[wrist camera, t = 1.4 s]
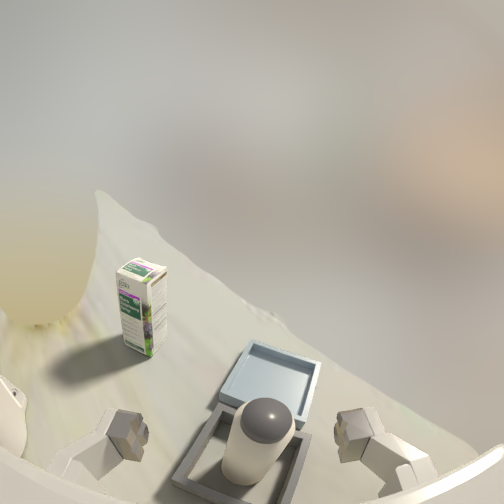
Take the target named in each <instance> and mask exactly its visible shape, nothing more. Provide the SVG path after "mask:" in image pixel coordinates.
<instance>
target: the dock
mask: <svg viewBox="0 0 504 504" xmlns="http://www.w3.org/2000/svg"><path fill="white" fill-rule="evenodd" d="M236 411H237V410H236V409H234V408H231V407H229V406H227V405H224V404H222V403H218V404H217V406H216V408H215V410H214V411H213V413H212V414H211V416H210V418H209V419H208V421H207V423H206V424H205V426H204V428H203V429H202V431H201V433H200V434H199V436H198V437H197V439H196V441H195V442H194V444H193V445H192V447H191V449H190V450H189V452H188V453H187V455H186V456H185V458H184V460H183V461H182V463H181V464H180V466H179V467H178V469H177V470H176V472H175V473H174V475H173V476H172V478H171V480H172V483H173V485H175V486H177V487H179V488H181V489H183V490H185V491H187V492H189V493H191V494H194V495H196V496H198V497H200V498H203V499H205V500H207V501H210V502H212V503H215V504H251V503H248V502H245V501H242V500H239V499H236V498H233V497H231V496H228V495H225V494H223V493H220V492H218V491H215V490H213V489H210V488H208V487H205V486H203V485H201V484H199V483H196V482H194V481H192V480H190V479H188V478H187V477H188V475H189V474H190V472H191V471H192V469H193V467H194V466H195V464H196V462H197V461H198V459H199V457H200V456H201V454H202V452H203V451H204V449H205V447H206V446H207V444H208V442H209V440H210V439H211V437H212V435H213V434H214V432H215V430H216V428H217V427H218V425H219V423H220V421H222V422H225V423H227V424H230V425H232V423H233V419H234V415H235V413H236ZM311 437H312V435H311V434H308V433H304V432H301V431H297V430H295V433H294V435H293V437H292V439H291V440H290V442H289V443H288V444H287V445H290V446H293V447H296V450H295V453H294V456H293V459H292V462H291V465H290V468H289V471H288V474H287V476H286V479H285V482H284V485H283V487H282V490H281V492H280V495H279V498H278V500H277V503H276V504H290V502H291V500H292V497H293V494H294V491H295V488H296V485H297V482H298V480H299V476H300V473H301V470H302V467H303V464H304V461H305V457H306V454H307V451H308V447H309V444H310V440H311Z"/></svg>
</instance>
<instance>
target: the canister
mask: <svg viewBox="0 0 504 504" xmlns="http://www.w3.org/2000/svg"><path fill="white" fill-rule="evenodd" d="M294 433H295V421H294V418H293V416H292V414H291V412H290V410H289V409H288V407H287V406H286V405H285V404H283V403H282V402H280V401H278V400H276V399H273V398H257V399H254V400H252V401H249V402H246V403H245V404H243V405H242V406H240V407H239V409H238V410H237V411H236V413H235V415H234V419H233V423H232V426H231V430H230V434H229V438H228V441H227V445H226V449H225V453H224V456H223V460H222V464H221V469H222V472H223V474H224V476H225V477H226V478H227V479H228V480H229V481H231V482H232V483H234V484H237V485H242V486H248V485H253V484H255V483H257V482H259V481H260V480H261V479H262V478H263V477H264V476H265V474H266V473H267V472H268V470H269V469H270V468H271V466H272V465H273V464H274V462H275V461H276V460H277V458H278V457H279V456H280V454H281V453H282V451H283V450H284V449H285V447H286V446H287V444H288V443H289V442H290V440H291V439H292V437H293V435H294Z"/></svg>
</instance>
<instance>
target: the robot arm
mask: <svg viewBox="0 0 504 504" xmlns="http://www.w3.org/2000/svg"><path fill="white" fill-rule="evenodd" d="M15 394H16V396H14V395H15ZM26 406H27V397H26V396H25V395H24V393H23V392H22V391H20V390H19V389H18V388H16V387H15V386H14V385H13V384H11V383H10V382H9V381H8V380H7V379H5V378H4V377H3V376H2V375H1V374H0V504H138V503H134V502H130V501H126V500H122V499H119V498H115V497H112V496H109V495H105V491H106V490H105V488H104V487H103V486H102V485H101V484H100V483H99V482H98V481H99V480H100V479H101V478H102V477H104V476H105V475H106V474H107V473H108V472H110V471H111V470H112V469H113V468H114V467H116V466H117V465H118V464H119V463H120V462H121V461H123V459H126V460H132V461H137V462H141V459H142V456H143V453H144V450H143V447H142V446H144V445H145V444H147V441H148V435H149V432H148V428H147V425H146V424H145V423H143V422H142V420H143V417H142V415H141V413H135V412H130V411H125V410H120V409H115V408H110V407H109V408H108V409H107V410H106V412H105V413H104V415H103V417H102V419H101V421H100V423H99V425H98V427H97V429H96V431H95V432H91V433H89V434H87V435H86V436H84V437H82V438H80V439H79V440H77V441H75V442H73V443H72V444H70V445H68V446H66V447H65V448H63V449H61V450H59V451H57V452H56V453H55V455H54V457H53V459H52V461H51V462H50V464H49V466H48V468H47V470H46V471H45V470H43V469H41V468H39V467H37V466H35V465H33V464H31V463H29V462H28V461H26V460H24V459H22V458H20V457H21V455H22V453H23V451H24V448H25V444H26V437H27V429H26V422H25V410H26ZM337 421H338V422H337V423H336V424H335V426H334V439H335V443H336V444H337V445H338V446H339V449H338V455H339V458H340V462H341V463H346V462H352V461H357V460H360V461H361V462H362V463H363V464H364V465H365V466H367V467H368V468H369V469H370V470H371V471H373V472H374V473H375V474H376V475H377V476H378V477H380V478H381V479H382V480H383V481H385V482H386V484H385V485H384V486H383V488H382V489H381V490H380V492H379V493H378V496H379V498H378V499H374V500H371V501H367V502H363V503H359V504H504V444H499V445H497V446H495V447H493V448H492V449H490V450H489V451H487V452H485V453H484V454H482V455H480V456H478V457H477V458H475V459H473V460H471V461H469V462H467V463H466V464H464V465H462V466H460V467H458V468H456V469H454V470H452V471H450V472H448V473H445V474H443V475H441V476H438V474H437V471H436V469H435V467H434V465H433V463H432V461H431V459H430V457H429V455H427V454H426V453H424V452H422V451H420V450H419V449H417V448H415V447H413V446H412V445H410V444H408V443H406V442H405V441H403V440H401V439H400V438H398V437H396V436H395V435H393V434H391V433H390V432H388V433H386V431H385V429H384V427H383V425H382V422H381V420H380V418H379V416H378V413H377V411H376V409H375V407H374V406H370V407H365V408H358V409H353V410H348V411H342V412H339V413H338V414H337Z"/></svg>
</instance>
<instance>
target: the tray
mask: <svg viewBox="0 0 504 504" xmlns="http://www.w3.org/2000/svg"><path fill="white" fill-rule="evenodd" d="M320 366H321V362H318V361H315V360H312V359H309V358H306V357H302V356H299V355H296V354H293V353H290V352H287V351H284V350H281V349H278V348H276V347H273V346H270V345H267V344H264V343H261V342H259V341H256V340H253V339H250V341H249V343H248V344H247V346H246V348H245V350H244V351H243V353H242V355H241V356H240V358H239V360H238V362H237V363H236V365H235V367H234V368H233V370H232V372H231V373H230V375H229V377H228V378H227V380H226V382H225V383H224V385H223V387H222V388H221V390H220V393H219V399H218V400H220V401H222V402H224V403H227V404H229V405H232V406H234V407H237V408H239V407H240V406H242V405H243V404H245V403H246V402H249V401H252V400H254V399H257V398H273V399H276V400H278V401H280V402H282V403H283V404H285V405H286V406H287V407H288V409H289V410H290V412H291V414H292V416H293V418H294V421H295V428H297V429H301V428H302V427H303V425H304V424H305V422H306V419H307V416H308V412H309V409H310V405H311V401H312V398H313V394H314V390H315V386H316V382H317V378H318V374H319V370H320Z"/></svg>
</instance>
